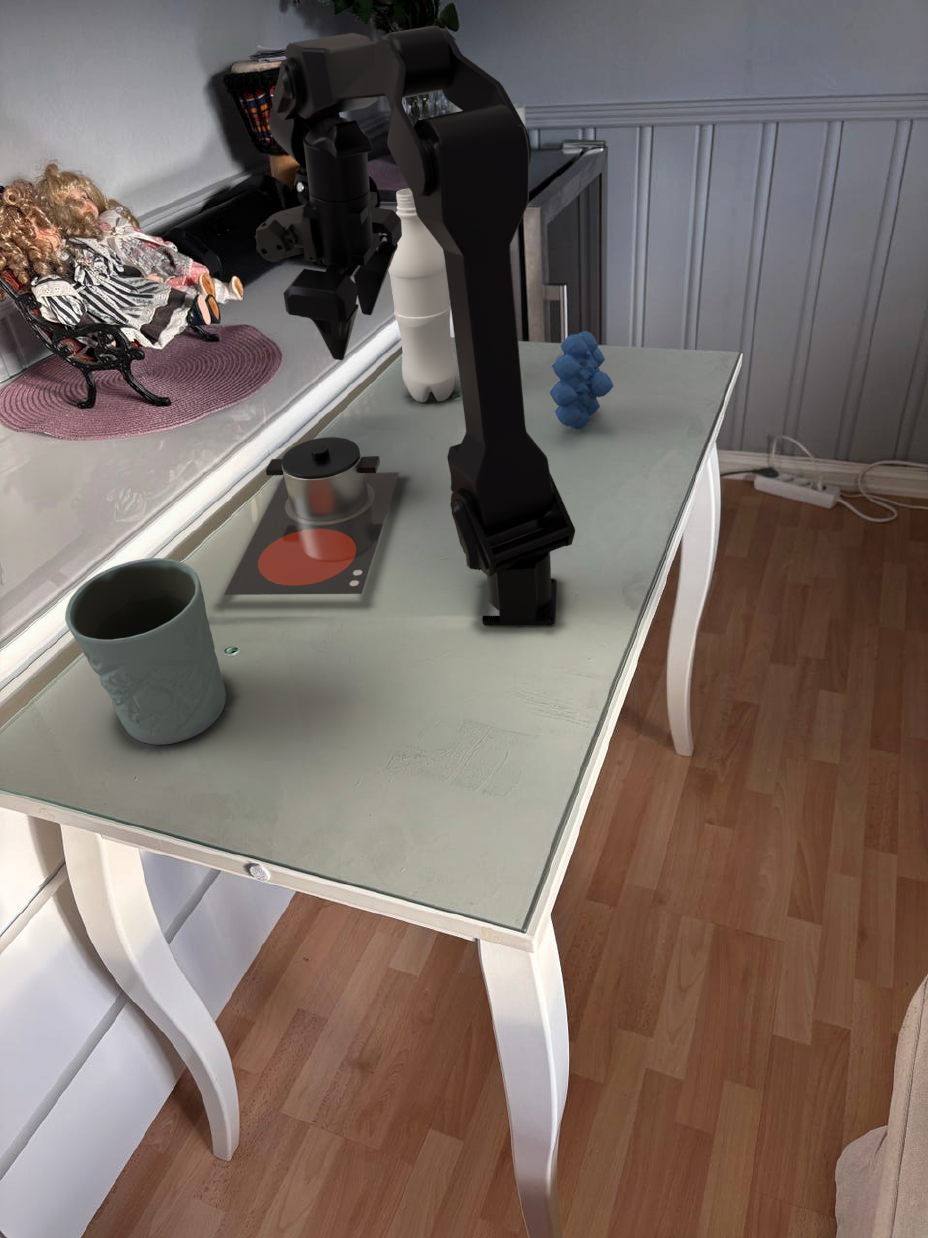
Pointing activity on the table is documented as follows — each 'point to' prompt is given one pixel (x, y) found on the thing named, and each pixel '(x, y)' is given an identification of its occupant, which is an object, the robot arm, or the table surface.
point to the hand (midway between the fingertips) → (353, 335)
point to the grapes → (579, 380)
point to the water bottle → (422, 307)
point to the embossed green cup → (151, 647)
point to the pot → (325, 477)
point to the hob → (313, 547)
